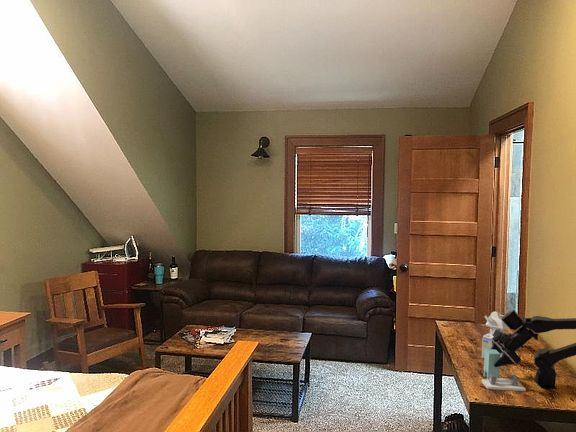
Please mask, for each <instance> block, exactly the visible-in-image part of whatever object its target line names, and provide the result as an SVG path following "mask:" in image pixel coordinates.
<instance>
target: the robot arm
mask: <svg viewBox="0 0 576 432" xmlns="http://www.w3.org/2000/svg"><path fill="white" fill-rule="evenodd" d="M501 317H502V316H501ZM501 320H502V321H503V322H504V323H505V324H506V325H507V326H508V327H507V328H508V329H510V331H511V330H512V331H515V332H514V333H506V332H504V331H503V332H501V331H499V330H497V329H496V330H495V332H494V333H493V335H492V336H494V337H493V338H492V340H493V341H494V342H493V341H492V348H491V349H493V350H497V351H498V352H499V353H500V354H501V353H502V357H501V358H500V359H499V360H498V361H497V362H496V363H495V364H494V367H499V366H500V367H503V366H508V365H515V364H516V365H518V364H520V363H521V361H522V359H521V357H520V356H519V355H518V354H517V351H518V350H519V349H520V348H521V349H524V348H525V346H524V345H525V344H527V343H528V341H530V340H531V339H532V338H533V339H534V340H536V341H538V340H539V334H543V333H548V332H552V331H554V330H576V318H574V317H573V318H570V317H569V318H551V317H547V316H541V315H535V316H532V317H524V318H523V317H521V316H520V315H519V314H518V313H517V310H515V309H513V310H511V311H508V312H506V313H505V314H504V316H503V317H502V318H501ZM501 349H502V350H503V351H502V350H501ZM504 351H505V352H506V353H505V352H504ZM575 356H576V342H573V343H570V344H568V345H566V346H565V345H564V346H561V347H559V348H556V349H549V346H544V348H541V349H540V348H539V349H537V351H536V352H534V355H533V358H534V359H533V360H534V361H533V362H534V365H535V366H536V367H537V368H536V372H535V376H534V377H535V378H534V381H533V382H534V383H535V384H537V386H538V387H540V388H542V389H555V390H556V389H558V387H557V386H556V378H557V372H556V367H555V364H557V363H558V362H559V361H563V360H565V359H568V358H572V357H575ZM500 367H499V368H500Z"/></svg>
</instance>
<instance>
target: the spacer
mask: <svg viewBox="0 0 576 432" xmlns="http://www.w3.org/2000/svg"><path fill="white" fill-rule="evenodd" d="M483 359H484V360H483V362H484V363H483V377H484V378H486V380H489V374H494V375H495V376H496V378H500V367H501V366H499V367H494V364H495V363H496V362H497V361H498V360H499V359H500V353H499V352H498V351H497V350H493V349H485V358H483Z"/></svg>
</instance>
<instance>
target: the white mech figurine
mask: <svg viewBox="0 0 576 432" xmlns="http://www.w3.org/2000/svg"><path fill="white" fill-rule="evenodd" d="M504 315H505V314H504ZM504 315H503V314H501V313H499V311H492V312H490V315H489V316H488V315H484V316H483V317H484V318H485V320H486V323H485V326H486V327H488V328H490V329H489V333H488V334H492V335H493V333H494V332H495V330H496V329H497V330H499V331H501V332H503V333H504V331H505V330H506V329H507V328H509V327H508V326H507V325H506V324H505V323H504V322H503V321H502V320H501V318H502V317H503V316H504Z"/></svg>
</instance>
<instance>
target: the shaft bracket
mask: <svg viewBox="0 0 576 432" xmlns="http://www.w3.org/2000/svg"><path fill="white" fill-rule="evenodd" d="M481 383H482V384H483V385H484V387H485V388H486V389H487V390H495V391H496V390H497V391H500V390H502V391H513V392H514V391H515V392H517V391H518V392H526V391H527V389H526V387H524V385H522V383H521V382H520V381H519V377H518V375H516V374H511V378H504V377H503V378H502V377H499V378H496V376H495V375H494V374H489V380H487V378H486V379H484V378H483V379H481Z"/></svg>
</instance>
